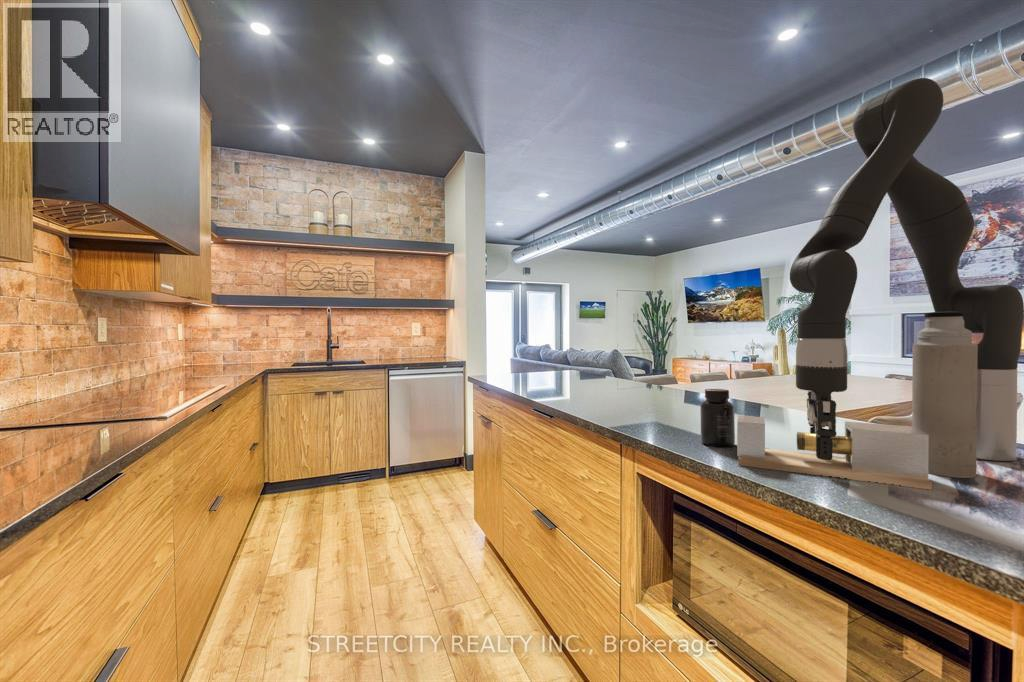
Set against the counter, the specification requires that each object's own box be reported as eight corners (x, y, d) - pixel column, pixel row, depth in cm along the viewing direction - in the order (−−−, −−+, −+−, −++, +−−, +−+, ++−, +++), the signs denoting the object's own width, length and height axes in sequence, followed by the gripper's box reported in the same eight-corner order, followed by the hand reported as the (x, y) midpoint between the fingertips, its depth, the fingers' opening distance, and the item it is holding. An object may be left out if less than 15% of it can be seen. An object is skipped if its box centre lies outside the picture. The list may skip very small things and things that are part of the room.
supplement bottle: (736, 442, 95) (736, 388, 95) (733, 449, 90) (733, 392, 89) (702, 438, 99) (702, 387, 99) (698, 445, 93) (698, 390, 93)
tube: (909, 459, 72) (909, 440, 72) (915, 464, 69) (915, 444, 69) (796, 447, 80) (796, 430, 80) (798, 451, 77) (798, 434, 77)
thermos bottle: (951, 464, 78) (952, 312, 78) (990, 479, 70) (992, 310, 70) (900, 462, 80) (901, 313, 79) (933, 476, 72) (935, 311, 71)
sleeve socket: (738, 447, 86) (738, 413, 86) (914, 466, 73) (914, 426, 73) (737, 456, 81) (737, 419, 80) (928, 478, 67) (928, 435, 67)
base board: (739, 451, 88) (739, 446, 88) (910, 471, 75) (910, 464, 75) (738, 465, 79) (738, 458, 79) (931, 489, 66) (931, 482, 66)
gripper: (855, 367, 69) (855, 467, 69) (839, 361, 81) (839, 446, 81) (799, 365, 72) (799, 460, 73) (792, 360, 85) (792, 441, 85)
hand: (820, 452), depth 77 cm, fingers open, 8 cm apart
